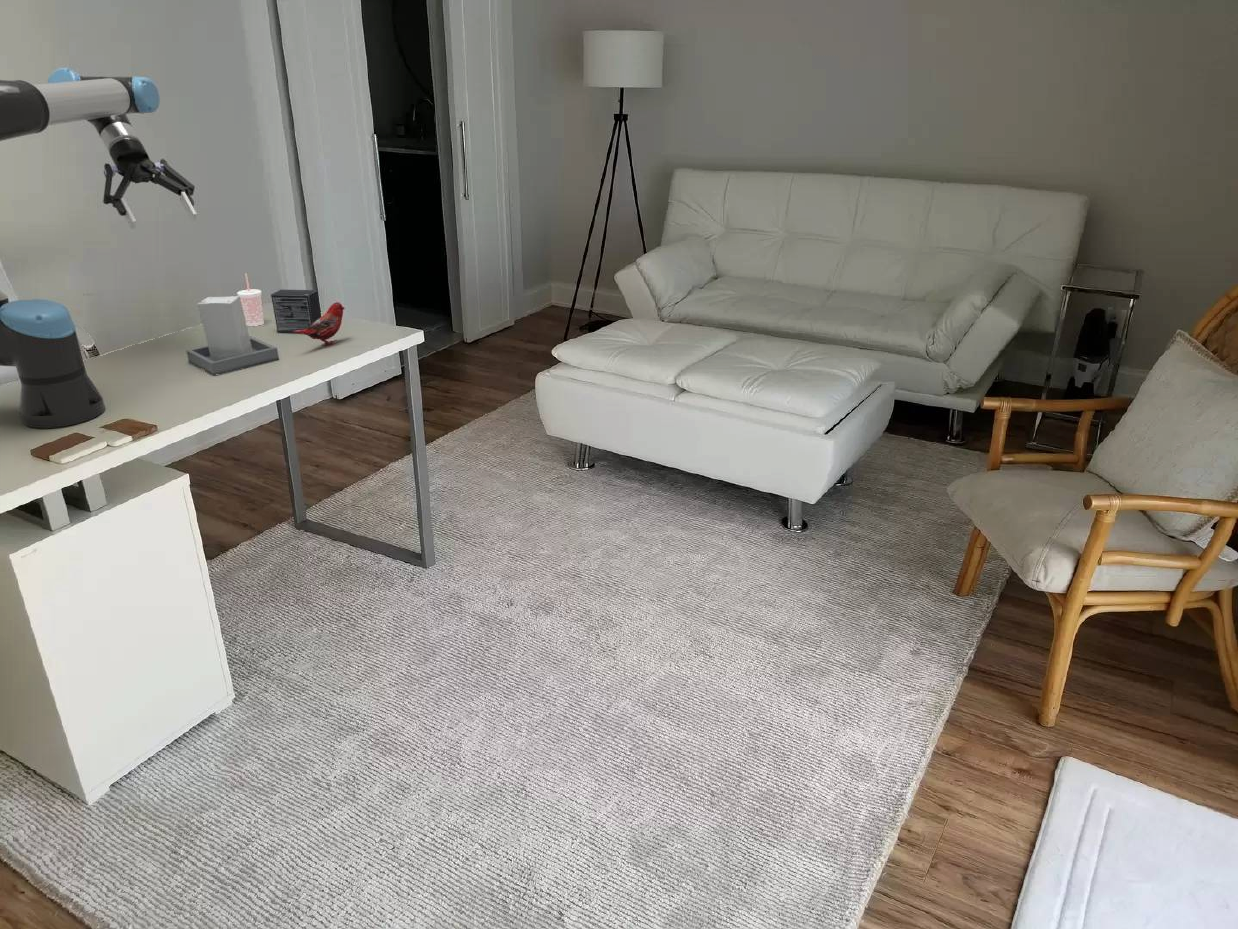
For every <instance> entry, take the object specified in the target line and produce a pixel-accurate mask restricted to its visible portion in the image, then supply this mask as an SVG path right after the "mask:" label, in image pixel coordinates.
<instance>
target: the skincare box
mask: <svg viewBox="0 0 1238 929" xmlns="http://www.w3.org/2000/svg"><path fill="white" fill-rule="evenodd" d="M197 308H198V312H199V317H200V319H201V324H202V327H203V332H204V334H205V339H206V343H207V346H208V348H209V352H210V356H211V360H212V361H218V360H223V359H227V358H231V357H235V356H239V355H244V354H248V353H252V352H253V350H252V346H251V342H250V338H249V336H250V334H249V330H248V326H247V325H246V321H245V316H244V312H243V308H242V304H241V300H240V296H238V295H235V296H207V297H206V298H204V299H203V300H201V301H200V302H198V303H197Z"/></svg>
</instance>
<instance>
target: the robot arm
mask: <svg viewBox="0 0 1238 929" xmlns="http://www.w3.org/2000/svg"><path fill="white" fill-rule="evenodd" d="M160 100H161V98H160V94H159V90H158V88H157V85H156V84H155V82H154V81H153V80H152V79H150V78H148V77H145V76H144V77H143V76H137V75H136V76H83V75H80V74H79V73H78V72H76V71H74V70H73V69H70V68H68V67H60V68H57V69H55V70H53V71H52V73H51V74H50V75H49V76H48V79H47V83H38V84H37V83H36V84H33V83H31V82H30V81H27V80H24V79H22V80H21V79H17V80H16V79H15V80H3V79H0V142H2V141H6V140H11V139H15V138H19V137H24V136H28V135H29V136H30V135H33V134H39V133H41V132H43V131H45V130H47V128H48V127H50V126H54V125H60V124H61V125H62V124H68V123H73V122H75V123H76V122H80V121H87V122H88V123H89V124H91V125H93V127H94V128H95V130H96V132H97V134H98V135H99V138H100V139H101V140H102V143H103V145H104V147H105V148H106V150H107V152H108V154H109V156H110V157H111V160H112V161H113V164H114V165H113V166H112V165H111V164H109V163H104V166H103V174H104V177H105V182H104V183H105V184H104V192H103V200H102V203H103V204H104V205H109V204H111V205H112V207H113V208H115V209H116V210H117V213H118V215H119V216H121V217H125V219H126V221H127V223H128V225H129V227H130V229H131V230H135V229H136V226H137V220H136V218H135V216H134V214H133V212H132V210H131V208H130V206H129V204H128V202H127V200H126V199H125V197H124V195H125V194H126V191H127V189H128V188H129V187H130V184H131V183H134V184H140V183H150V182H151V183H153V184H154V185H159V186H161V187H162V188H165V189H167V190H168V191H169V192H172V193H173V194H176V195H177V196H180V197H179V201H180V202H181V204H182V206H183V207H184V210H185V212H186V214H187V215H188V217H189V219H190V221H191V222H196V217H197V211H196V210H195V208H194V206H195V205H194V204H195V201H194V200H193V198H192V196H193V195H194V192H195V187H196V186H195V185H194V184H192V183H191V182H190V181H189V180H188V179H187V178H185V177H184V176H183V175H181V174H180V173H179V172H178V171H176V170H175V169H173V168H172V167H171V165H169V163H168V162H167V160H165V159H163V158H161V159H160V161H158V162H153V161H152V160H151V159H150V157H149V154H148V153H147V151H146V149H145V147H144V145H143V143H142V142H141V139H140V138H139V136H138V134H137V131H136V130H135V128H134V127H133V125H132V124H131V121H130V120H129V118H128V115H129V114H143V115H144V114H152V113H155V112H156V111H157V110H158V108H159V107H160V102H161V101H160ZM116 173H117V174H119V175H120V176H122V179H121V181H120V183H119V185H118V187H117V189H116V190H115V193H114V194H113V195H112V194H111V191H112V183H113V177H114V176H116ZM8 297H9V296H8V295H7V294H6V293H4V292H2V291H1V290H0V367H15V368H16V371H17V374H18V375H17V376H18V377H19V382H20V384H21V387H20V400H19V402H20V403H19V416H20V419H21V422H22V424H23V425H24V426H26V427H29V428H35V429H53V428H62V427H67V426H72V425H76V424H81V423H84V422H87V421H90V420H92V419H94V418H96V417H99V416H100V415H102V413H104V411H105V410H106V405H105V401H104V397H103V396H102V395H101V393H100V391H99V389H97V387H96V386H95V384H94V383H93V381H92V380H91V379H90V377H89V375H88V374H87V370H86V367H85V362H84V358H83V355H82V352H81V351H82V350H81V348H80V343H79V339H78V335H77V331H76V326H75V324H74V322H73V320H72V317H71V314H70V311H69V309H68V308H67V307H66V306H65V305H64V304H61V303H60V302H57V301H53V300H48V299H40V298H39V299H37V298H36V299H35V298H34V299H18V300H13V301H10V300H9V298H8Z"/></svg>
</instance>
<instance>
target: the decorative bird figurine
mask: <svg viewBox="0 0 1238 929" xmlns="http://www.w3.org/2000/svg"><path fill="white" fill-rule="evenodd" d="M344 310H345V307H344V306H343V305H342V303H340V302H338V301H336V302H334V303H333V304H331V305H330V306H329V308H328V309H327V311H326V313H324V314H323V315H321V318H319V319H318V320H316V321H315V322H314V323H313V324H312V325H310V326H309V328H308V329H305V330H298V331H292V333H291V334H300V335H306V336H308V337H310V338H311V339H313V340H320V341H322V342H323V343H322V344H321V346H322V347H325V346H327V345H331V344H333V343H335V342H336V341H337V339H334V340H330V341H328V340H329V339H331V338H332V337H334V336H335V335H336V334H337V333H338V332H339V330H340V327H341V325H342V321H343V317H344V316H343V315H344Z"/></svg>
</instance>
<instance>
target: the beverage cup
mask: <svg viewBox="0 0 1238 929" xmlns="http://www.w3.org/2000/svg"><path fill="white" fill-rule="evenodd" d="M244 275H245V282H246V286H247V287H246V288H247V289H244V290H238V292H236V295H237V296H240V300H241V304H242V308H243V312H244V316H245V321H246V325H248V326H247V327H249V326H255V327H259V326H258V325H261V326H263V325H264V324H265V322H264V313H263V311H264V310H263V306H262V305H263V304H262V303H263V302H262V290H261V289H258V288H257V289H256V288H253V289H252V288H250V284H249V278H248V274H247V272H246V273H244Z"/></svg>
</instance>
